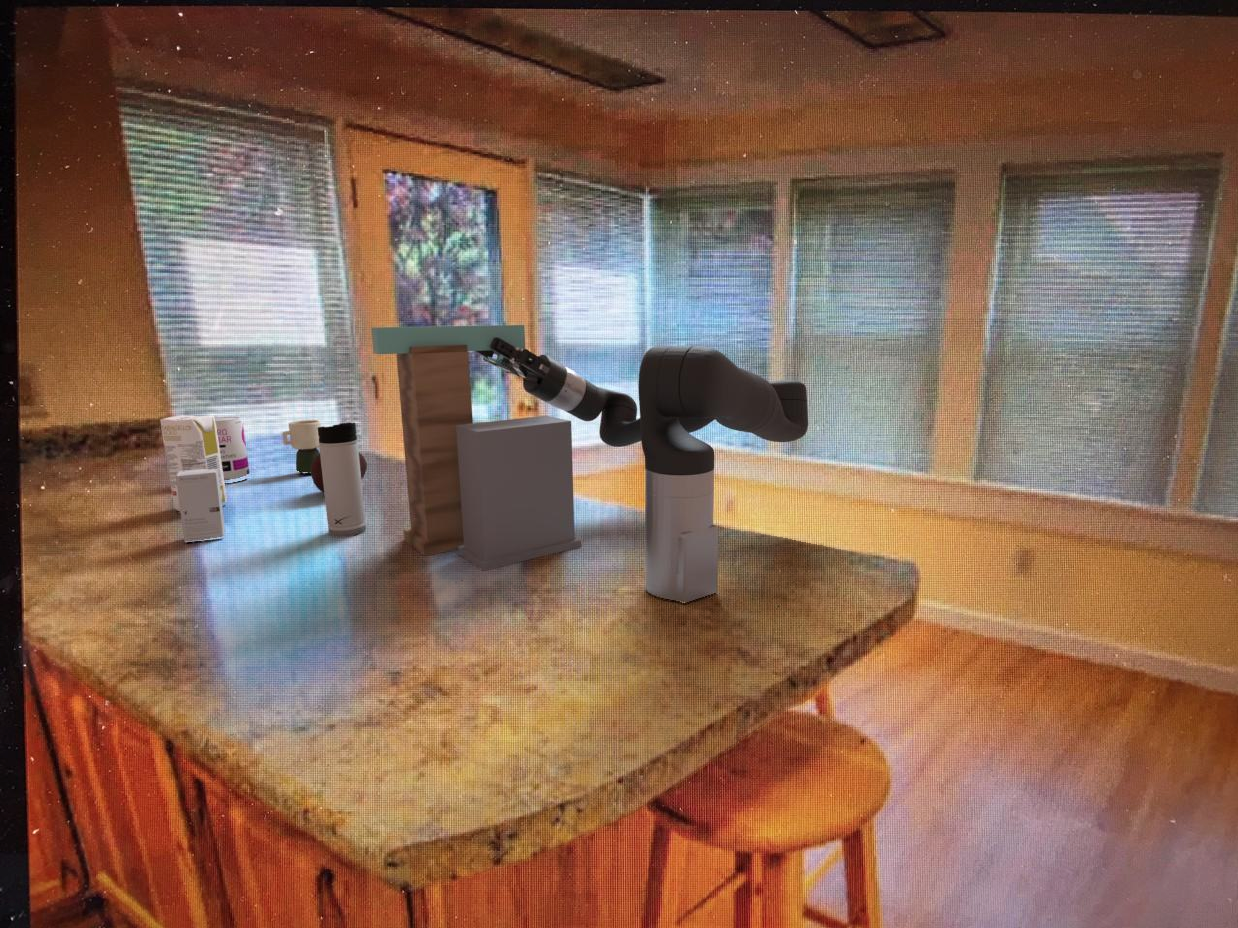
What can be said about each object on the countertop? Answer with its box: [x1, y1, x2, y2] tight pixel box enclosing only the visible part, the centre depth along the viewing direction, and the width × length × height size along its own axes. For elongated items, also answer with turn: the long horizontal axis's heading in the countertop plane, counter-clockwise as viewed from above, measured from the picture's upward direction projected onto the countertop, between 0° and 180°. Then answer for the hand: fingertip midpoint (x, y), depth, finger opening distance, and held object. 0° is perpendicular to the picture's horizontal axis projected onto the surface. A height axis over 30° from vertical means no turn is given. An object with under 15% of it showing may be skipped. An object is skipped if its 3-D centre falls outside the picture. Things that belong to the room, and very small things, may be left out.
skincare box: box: [176, 468, 226, 542], centre depth 117 cm, size 6×4×12 cm
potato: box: [310, 452, 368, 494], centre depth 147 cm, size 11×13×10 cm
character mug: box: [282, 419, 322, 473], centre depth 167 cm, size 11×7×13 cm, turn 136°
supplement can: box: [214, 416, 251, 480], centre depth 160 cm, size 8×8×15 cm
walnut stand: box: [395, 345, 474, 557], centre depth 111 cm, size 10×11×33 cm
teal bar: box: [370, 324, 526, 355], centre depth 109 cm, size 4×24×4 cm, turn 121°
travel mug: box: [318, 422, 367, 538], centre depth 119 cm, size 6×7×20 cm
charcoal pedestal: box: [456, 415, 582, 572], centre depth 108 cm, size 10×18×21 cm, turn 126°
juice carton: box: [160, 414, 227, 510], centre depth 135 cm, size 8×9×19 cm
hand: (481, 341), depth 113 cm, fingers open, 8 cm apart
